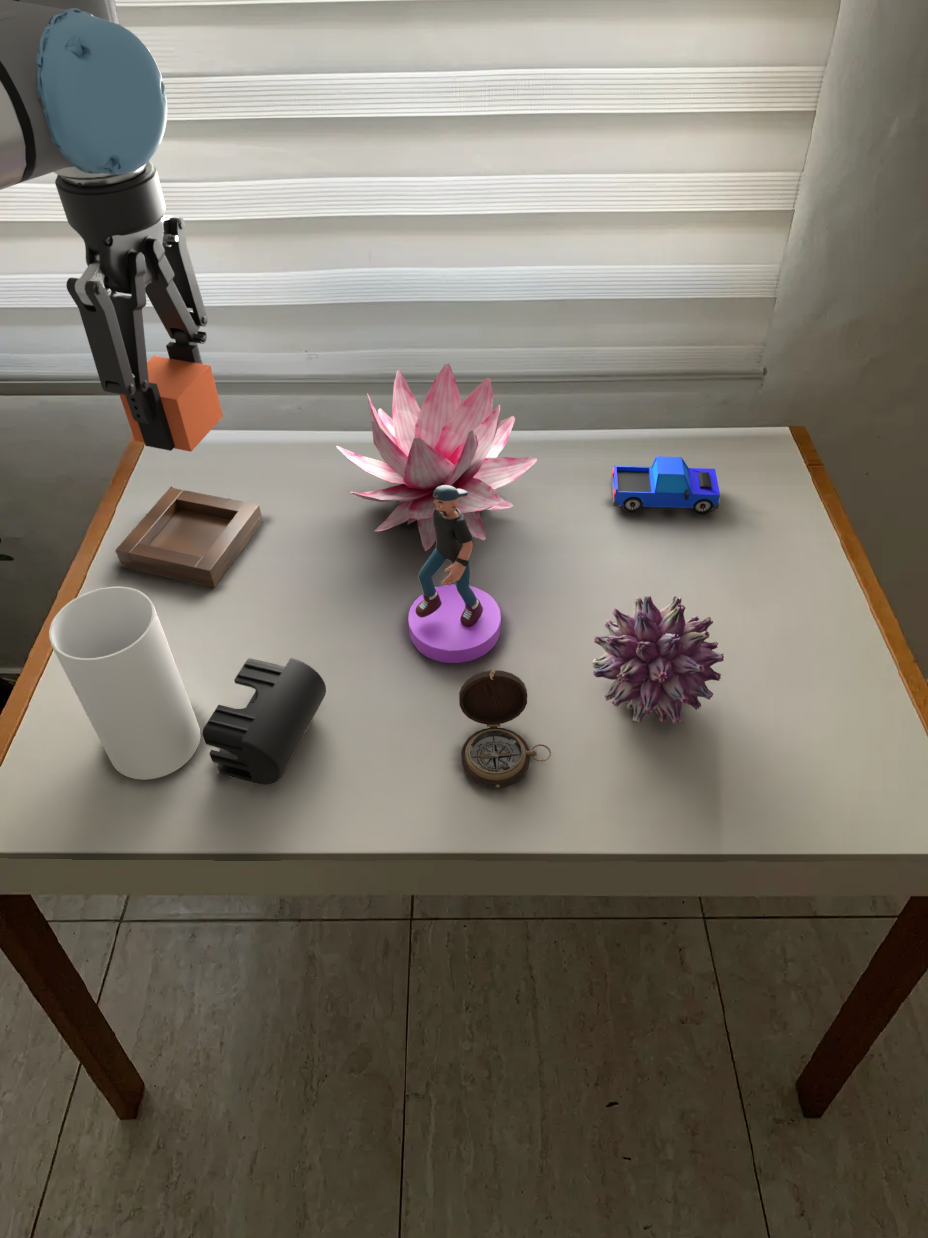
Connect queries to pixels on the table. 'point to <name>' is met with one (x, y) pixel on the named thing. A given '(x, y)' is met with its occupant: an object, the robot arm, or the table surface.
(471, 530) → the decorative flower
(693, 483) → the toy car
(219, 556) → the brown wooden tray
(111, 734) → the cup
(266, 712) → the end cap
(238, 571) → the table surface
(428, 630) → the figurine
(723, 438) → the table surface
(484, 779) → the compass
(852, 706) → the table surface
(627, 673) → the flower
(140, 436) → the orange cube
